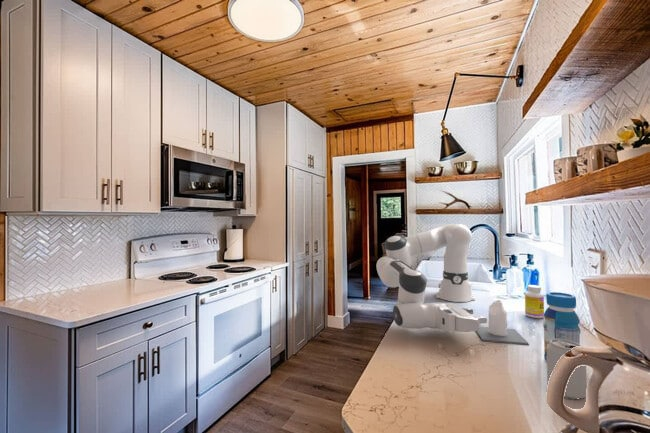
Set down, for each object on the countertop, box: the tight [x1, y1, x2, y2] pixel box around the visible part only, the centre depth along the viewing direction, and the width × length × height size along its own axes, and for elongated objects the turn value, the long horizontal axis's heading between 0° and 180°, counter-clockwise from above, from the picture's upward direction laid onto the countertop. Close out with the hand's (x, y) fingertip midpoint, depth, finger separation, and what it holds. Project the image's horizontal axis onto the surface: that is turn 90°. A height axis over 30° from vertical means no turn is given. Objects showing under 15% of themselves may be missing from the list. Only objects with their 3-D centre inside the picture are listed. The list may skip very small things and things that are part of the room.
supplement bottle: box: [524, 284, 545, 319], centre depth 129 cm, size 7×7×13 cm
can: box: [546, 339, 587, 400], centre depth 73 cm, size 8×8×12 cm
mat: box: [475, 325, 530, 346], centre depth 108 cm, size 13×14×1 cm
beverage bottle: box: [542, 291, 581, 363], centre depth 87 cm, size 8×8×20 cm
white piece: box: [488, 299, 508, 336], centre depth 109 cm, size 6×12×6 cm
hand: (478, 315), depth 108 cm, fingers open, 8 cm apart
